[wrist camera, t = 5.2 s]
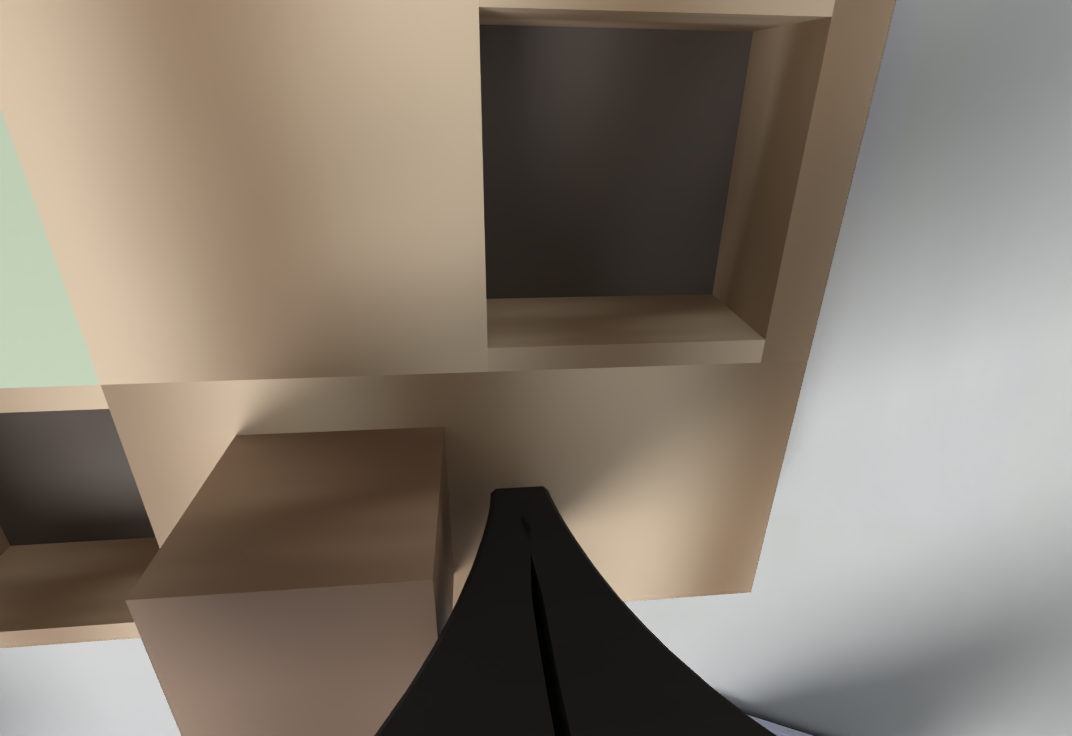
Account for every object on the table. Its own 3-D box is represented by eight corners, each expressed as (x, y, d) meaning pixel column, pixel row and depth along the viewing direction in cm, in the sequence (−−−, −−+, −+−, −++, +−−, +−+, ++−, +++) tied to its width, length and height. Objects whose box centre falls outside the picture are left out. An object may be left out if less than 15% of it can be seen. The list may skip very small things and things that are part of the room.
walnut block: (444, 426, 12) (432, 580, 8) (453, 574, 13) (447, 753, 10) (235, 435, 11) (125, 600, 8) (273, 586, 13) (199, 777, 9)
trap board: (800, 4, 12) (977, -38, 8) (707, 513, 17) (779, 643, 13) (-339, -30, 10) (-919, -112, 6) (-18, 557, 15) (-191, 725, 11)
